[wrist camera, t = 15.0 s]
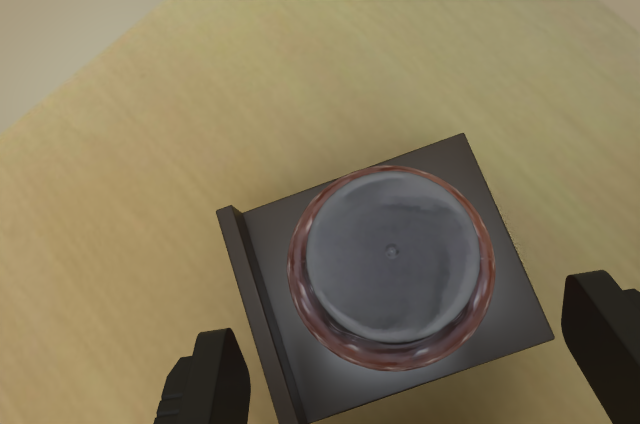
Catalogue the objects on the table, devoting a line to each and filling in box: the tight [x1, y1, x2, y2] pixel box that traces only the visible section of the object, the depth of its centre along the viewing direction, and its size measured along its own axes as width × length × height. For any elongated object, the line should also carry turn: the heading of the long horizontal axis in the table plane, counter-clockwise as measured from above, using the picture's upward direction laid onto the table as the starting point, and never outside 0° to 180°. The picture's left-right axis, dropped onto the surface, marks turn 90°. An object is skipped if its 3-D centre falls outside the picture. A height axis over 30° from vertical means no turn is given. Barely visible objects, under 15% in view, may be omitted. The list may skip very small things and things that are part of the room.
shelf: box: [216, 133, 555, 424], centre depth 24 cm, size 12×10×8 cm
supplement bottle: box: [286, 165, 496, 372], centre depth 17 cm, size 6×6×11 cm
